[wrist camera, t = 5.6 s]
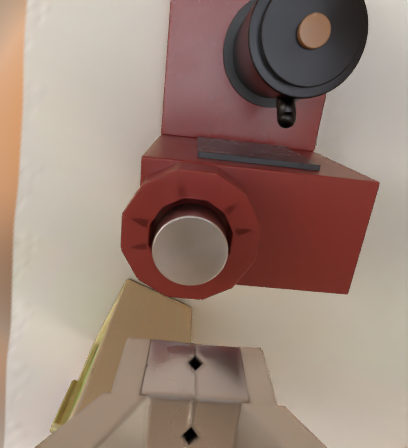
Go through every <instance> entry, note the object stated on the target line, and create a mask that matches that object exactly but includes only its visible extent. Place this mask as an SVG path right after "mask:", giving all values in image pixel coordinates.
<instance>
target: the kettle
mask: <svg viewBox="0 0 408 448" xmlns="http://www.w3.org/2000/svg"><path fill="white" fill-rule="evenodd" d="M367 35H368V14H367V8H366V5H365V2H364V0H256V2H255V4H254V5H253V7H252V8H251V10H250V11H249V13H248V14H247V16H246V18H245V19H244V21H243V22H242V24H241V26H240V27H239V29H238V31H237V33H236V36H235V40H234V44H233V63H234V67H235V71H236V73H237V75H238V77H239V79H240V80H241V82H242V83H243V84H244V86H245V87H246V88H247V89H249V90H250V91H251V92H253V93H254V94H256V95H258V96H261V97H265V98H276V104H277V122H278V124H279V125H280V126H281V127H282V128H290V127H292V126H293V125H294V124H295V122H296V102H295V99H307V98H314V97H318V96H321V95H323V94H326V93H328V92H330V91H332V90H333V89H335V88H336V87H338V86H339V85H340V84H341V83H342V82H344V81H345V80H346V79H347V77H348V76H349V75H350V74H351V73H352V71H353V70H354V69H355V67H356V66H357V64H358V62H359V60H360V58H361V56H362V53H363V51H364V48H365V44H366V40H367Z"/></svg>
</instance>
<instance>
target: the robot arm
mask: <svg viewBox="0 0 408 448" xmlns="http://www.w3.org/2000/svg"><path fill="white" fill-rule="evenodd" d="M35 448H327V447H326V446H325V445H324V444H323V443H322V442H321V441H320V440H319V439H318V438H317V437H316V436H315V435H314V434H313V433H312V432H311V431H310V430H309V429H308V428H307V427H305V426H304V425H303V424H302V423H301V422H300V421H299V420H298V419H297V418H296V417H295V416H294V415H293V414H292V413H291V412H290V411H289V410H288V409H287V408H286V407H285V406H278V405H277V401H276V398H275V394H274V390H273V387H272V383H271V379H270V375H269V372H268V368H267V364H266V361H265V357H264V353H263V350H262V349H261V348H253V347H227V346H214V345H201V344H193V343H184V342H175V341H166V340H156V339H152V340H150V339H145V338H134V337H129V338H128V339H127V340H126V343H125V346H124V350H123V353H122V357H121V360H120V363H119V367H118V370H117V373H116V377H115V380H114V383H113V387H112V390H111V393H102V394H101V395H100V396H98V397H97V398H96V399H95V400H93V401H92V402H91V403H90V404H88V405H87V406H86V407H85V408H83V409H82V410H81V411H80V412H78V413H77V414H76V415H75V416H73V417H72V418H71V419H70V420H68V421H67V422H66V423H65V424H63V425H62V426H61V427H60V428H58V429H57V430H56V431H55V432H53V433H52V434H51V435H50V436H48V437H47V438H46V439H45V440H43V441H42V442H41V443H40V444H38V445H37V446H36V447H35Z"/></svg>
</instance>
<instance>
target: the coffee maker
mask: <svg viewBox="0 0 408 448" xmlns="http://www.w3.org/2000/svg"><path fill="white" fill-rule="evenodd" d="M291 150H293V151H295V152H297V153H299V154H301V155H302V156H304V157H306V158H308V159H310V160H312V161H314V162H315V163H317V164H319V165H321V166H320V170H319V171H314V170H305V169H296V168H287V167H278V166H269V165H260V164H251V163H242V162H233V161H224V160H215V159H206V158H198V154H197V138H191V137H182V136H174V135H165V134H161V136H160V137H159V138H158V139H157V140H156V141H155V142H154V144H153V145H152V146H151V147H150V148H149V149H148V150H147V152H146V153H145V154H144V155H143V156H142V161H141V179H140V188H139V189H138V190H137V192H136V193H135V195H134V196H133V198H132V199H131V201H130V202H129V204H128V205H127V207H126V208H125V210H124V212H123V213H122V225H121V248H122V249H121V250H122V252H123V254H124V256H125V258H126V259H127V261H128V263H129V265H130V266H131V268H132V270H133V272H134V274H135V275H136V277H137V278H138V279H139V280H140V281H142V282H143V283H145V284H147V285H148V286H150V287H151V288H153V289H155V290H156V291H158V292H160V293H161V294H163V295H164V296H168V297H175V298H187V299H198V300H200V299H201V300H203V299H205V298H208V297H210V296H213V295H215V294H218V293H220V292H223V291H226V290H228V289H231V288H233V286H234V285H235V284H236V285H247V286H258V287H269V288H280V289H292V290H303V291H314V292H325V293H336V294H348V292H349V289H350V285H351V282H352V278H353V275H354V271H355V268H356V264H357V261H358V257H359V254H360V250H361V247H362V243H363V240H364V237H365V233H366V230H367V226H368V223H369V219H370V216H371V212H372V209H373V205H374V202H375V198H376V195H377V191H378V188H379V184H380V183H379V182H378V181H376V180H373V179H371V178H369V177H367V176H365V175H362V174H360V173H358V172H356V171H354V170H352V169H349V168H347V167H345V166H343V165H341V164H339V163H336V162H334V161H332V160H330V159H328V158H325V157H323V156H321V155H319V154H317V153H315V152H312V151H304V150H295V149H291ZM187 203H195V204H200V205H203V206H205V207H208V208H209V209H211V210H212V211H213V212H215V213H216V214H217V215H218V217H219V218H220V220H221V221H222V223H223V226H224V230H225V234H226V239H227V243H228V258H227V261H226V264H225V266H224V268H223V269H222V270H221V272H220V273H219V274H218V275H217V276H216V277H214V278H213V279H212V280H210V281H208V282H206V283H203V284H199V285H193V286H188V285H181V284H177V283H175V282H172V281H170V280H169V279H167V278H166V277H165V276H163V275H162V274H161V273H160V271H159V270H158V269H157V267H156V265H155V263H154V261H153V257H152V244H153V240H154V237H155V233H156V230H157V226H158V223H159V221H160V220H161V218H162V217H163V215H164V214H165V213H166V212H167V211H169V210H170V209H172V208H173V207H175V206H178V205H181V204H187Z"/></svg>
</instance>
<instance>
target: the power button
mask: <svg viewBox="0 0 408 448" xmlns="http://www.w3.org/2000/svg"><path fill="white" fill-rule="evenodd" d="M152 257H153V261H154V263H155V265H156V267H157V269H158V270H159V271H160V273H161V274H162V275H163V276H165V277H166V278H167V279H169V280H170V281H172V282H175V283H177V284H181V285H188V286H193V285H199V284H203V283H206V282H208V281H210V280H212V279H213V278H214V277H216V276H217V275H218V274H219V273H220V272H221V270H222V269H223V268H224V266H225V264H226V261H227V258H228V243H227V239H226V234H225V230H224V226H223V223H222V221H221V220H220V218H219V217H218V215H217V214H216V213H215V212H213V211H212V210H211V209H209V208H208V207H205V206H203V205H200V204H195V203H187V204H181V205H178V206H175V207H173V208H172V209H170V210H169V211H167V212H166V213H165V214H164V215H163V217H162V218H161V220H160V221H159V223H158V226H157V230H156V233H155V237H154V240H153V244H152Z"/></svg>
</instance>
